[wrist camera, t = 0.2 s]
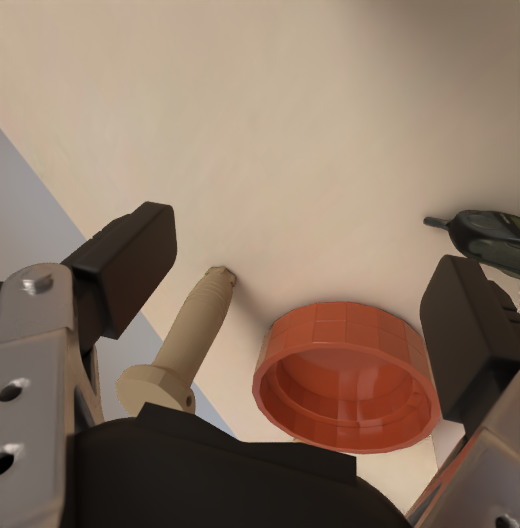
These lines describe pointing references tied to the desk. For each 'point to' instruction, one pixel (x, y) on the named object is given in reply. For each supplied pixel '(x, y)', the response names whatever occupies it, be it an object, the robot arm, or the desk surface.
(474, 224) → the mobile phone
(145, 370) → the handle
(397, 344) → the bowl
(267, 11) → the desk surface
